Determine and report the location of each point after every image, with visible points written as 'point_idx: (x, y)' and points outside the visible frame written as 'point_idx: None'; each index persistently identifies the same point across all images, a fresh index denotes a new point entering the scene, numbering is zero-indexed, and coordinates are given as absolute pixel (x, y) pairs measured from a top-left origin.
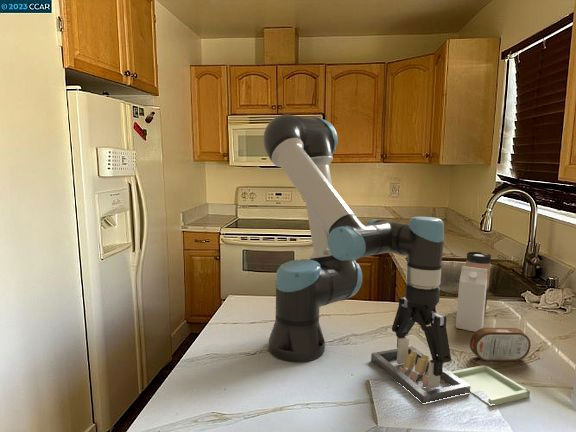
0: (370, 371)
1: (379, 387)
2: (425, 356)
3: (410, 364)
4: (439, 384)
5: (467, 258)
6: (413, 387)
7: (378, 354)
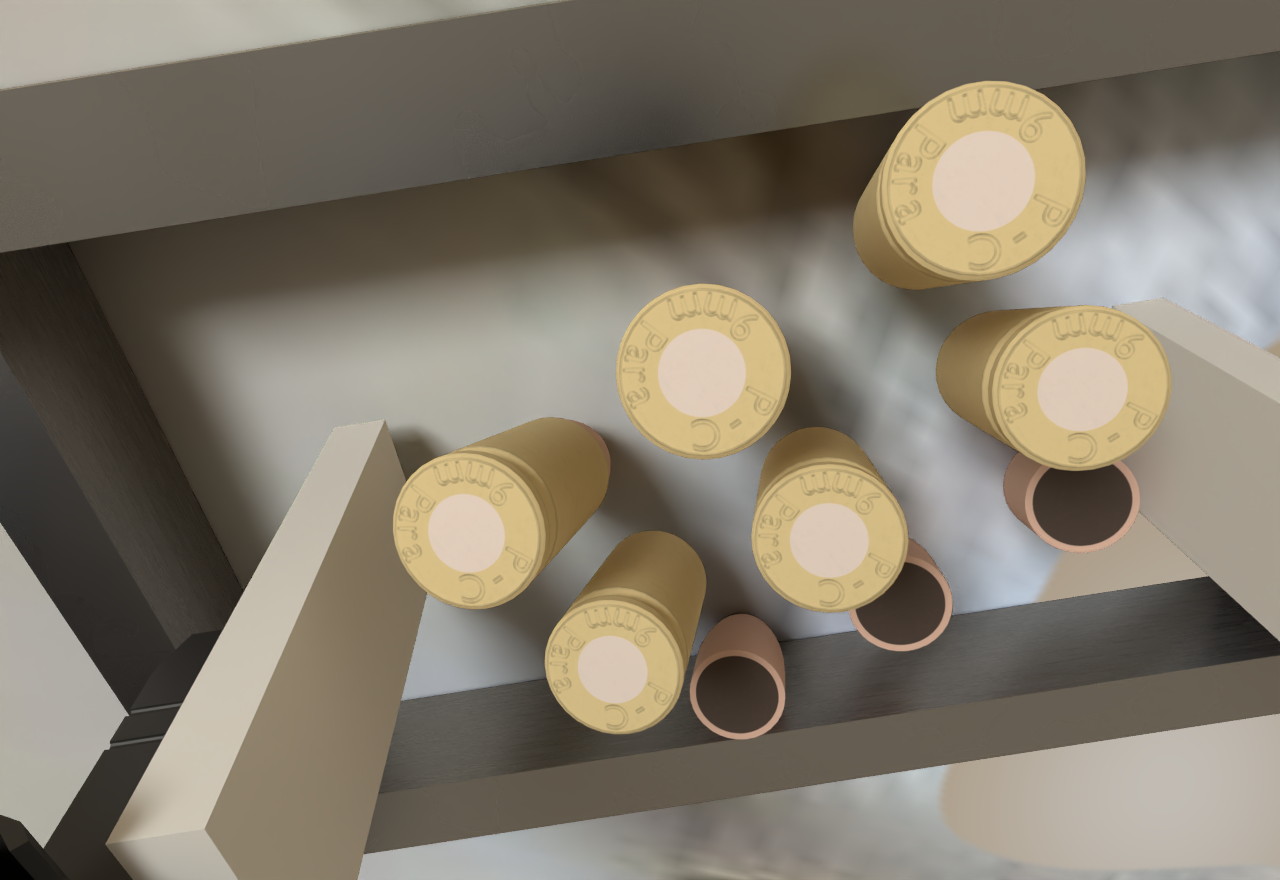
0: (532, 833)
1: (837, 838)
2: (768, 417)
3: (699, 591)
4: (1188, 314)
5: None
6: (1164, 729)
7: None
